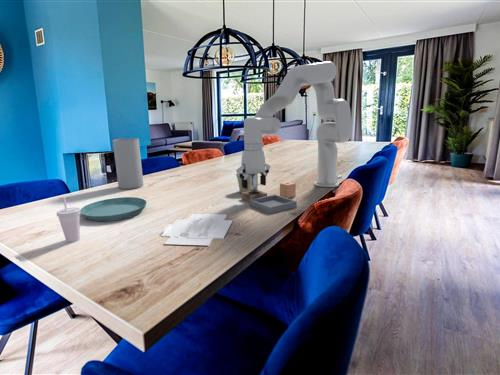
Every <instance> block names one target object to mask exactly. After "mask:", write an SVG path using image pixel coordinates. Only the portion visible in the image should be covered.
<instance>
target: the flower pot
mask: <svg viewBox="0 0 500 375" xmlns="http://www.w3.org/2000/svg"><path fill="white" fill-rule="evenodd" d="M241 174H243V173H242V172H241ZM235 176H236V179H237V183H238V188H239V192H240V193H242V192H247V191H251V175H248V177H247V178H246V180H247V182H248V188H247V189H245V188H242V179H241V178H240V177H239V176H238V174H237V173H236V174H235Z"/></svg>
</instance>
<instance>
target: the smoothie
mask: <svg viewBox="0 0 500 375" xmlns="http://www.w3.org/2000/svg"><path fill="white" fill-rule="evenodd" d="M62 199H63V205H64V208H62V209H59V210H57V211H56V216H57V218H58V220H59V221H58V222H59V223H60V226H61V228H62V233H63V235H64V238H65V241H66V242H65V243H76V242H77V241H80V239H81V234H80V230H81V229H80V214H81V213H80V210H81V208H79V207H68V205H67V200H66V196H63V197H62Z"/></svg>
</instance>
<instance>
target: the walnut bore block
mask: <svg viewBox="0 0 500 375" xmlns="http://www.w3.org/2000/svg"><path fill="white" fill-rule="evenodd" d="M265 196H268V193H267V192H265V191H262V190H258V194H254V195H252V194H251V191H247V192H241V200H243V201H246V202H249V203H250V200H251V199H256V198H261V197H265Z"/></svg>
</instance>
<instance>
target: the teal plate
mask: <svg viewBox="0 0 500 375" xmlns="http://www.w3.org/2000/svg"><path fill="white" fill-rule="evenodd" d="M146 205H147V200H146V199H144V198H141V197H134V196H127V197H124V196H122V197H115V198H108V199H107V198H106V199H101V200H97V201H94V202H91V203H88V204H86V205H85V206H83V207H82V208H80V213H79V214H81V215H82V216H83V217H84V218H85V219H88V220H90V221H95V222H112V221H120V220H125V219H128V218H131V217H132V218H133V217H134V216H136V215H138V214H140V213H141V212H142V211H143V210H145V208H146Z"/></svg>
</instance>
